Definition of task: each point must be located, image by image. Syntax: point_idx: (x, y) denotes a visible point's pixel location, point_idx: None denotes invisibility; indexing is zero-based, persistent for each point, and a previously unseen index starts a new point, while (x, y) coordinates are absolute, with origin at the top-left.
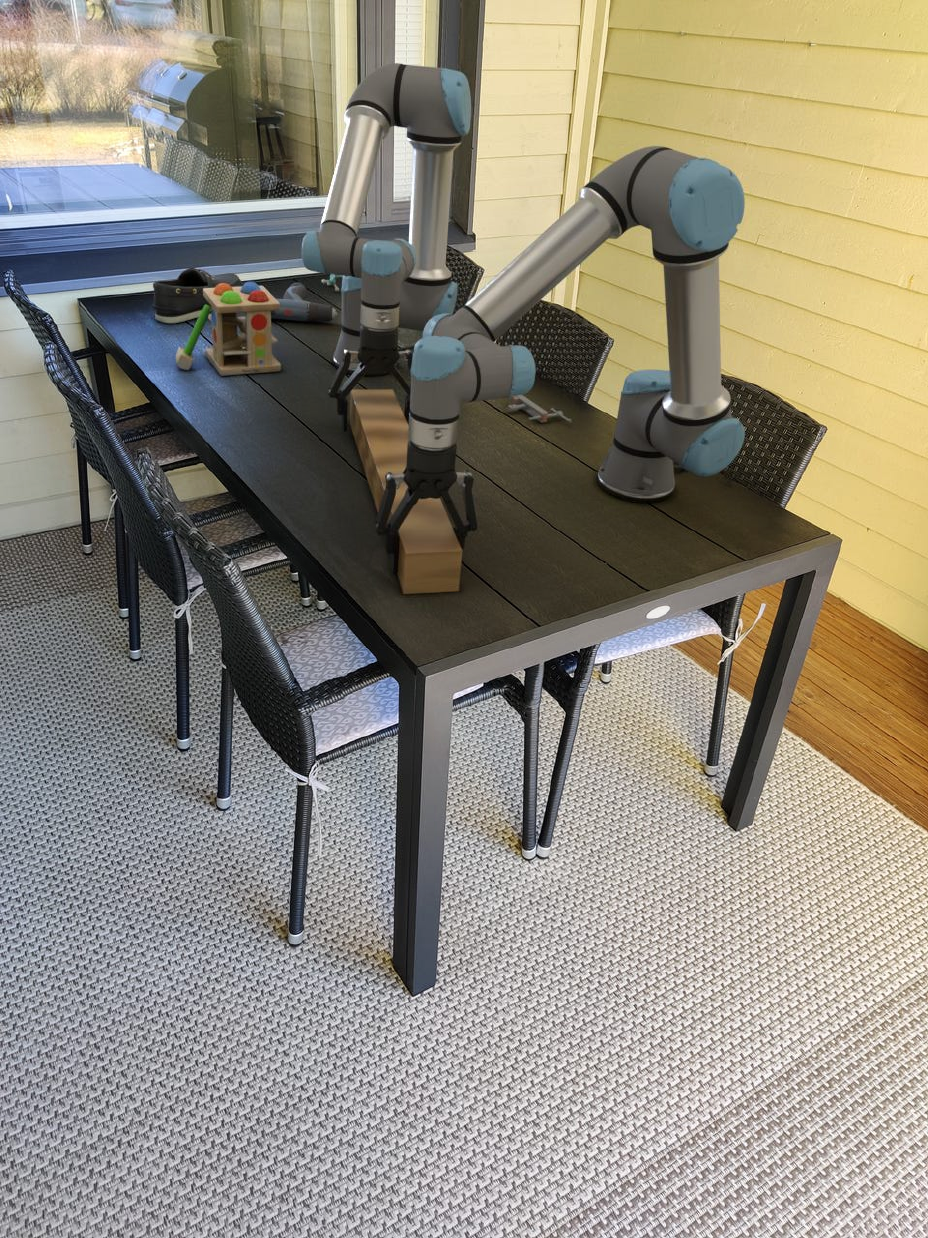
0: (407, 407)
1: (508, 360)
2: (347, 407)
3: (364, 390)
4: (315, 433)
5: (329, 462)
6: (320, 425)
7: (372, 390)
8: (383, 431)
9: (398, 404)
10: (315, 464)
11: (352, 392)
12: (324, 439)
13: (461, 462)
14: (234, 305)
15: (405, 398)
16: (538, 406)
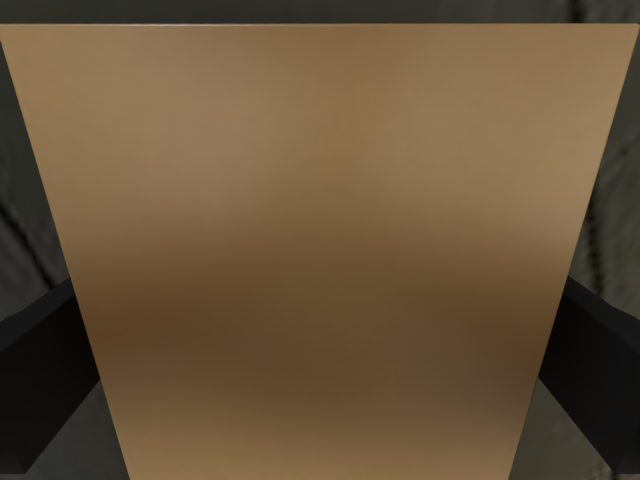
0: (574, 418)
1: None
2: (65, 422)
3: (207, 68)
4: (7, 210)
5: (117, 456)
6: (11, 99)
7: (322, 75)
8: None
9: (509, 442)
10: (69, 466)
11: (46, 147)
12: (67, 278)
13: (601, 473)
14: None
15: (637, 376)
16: None
